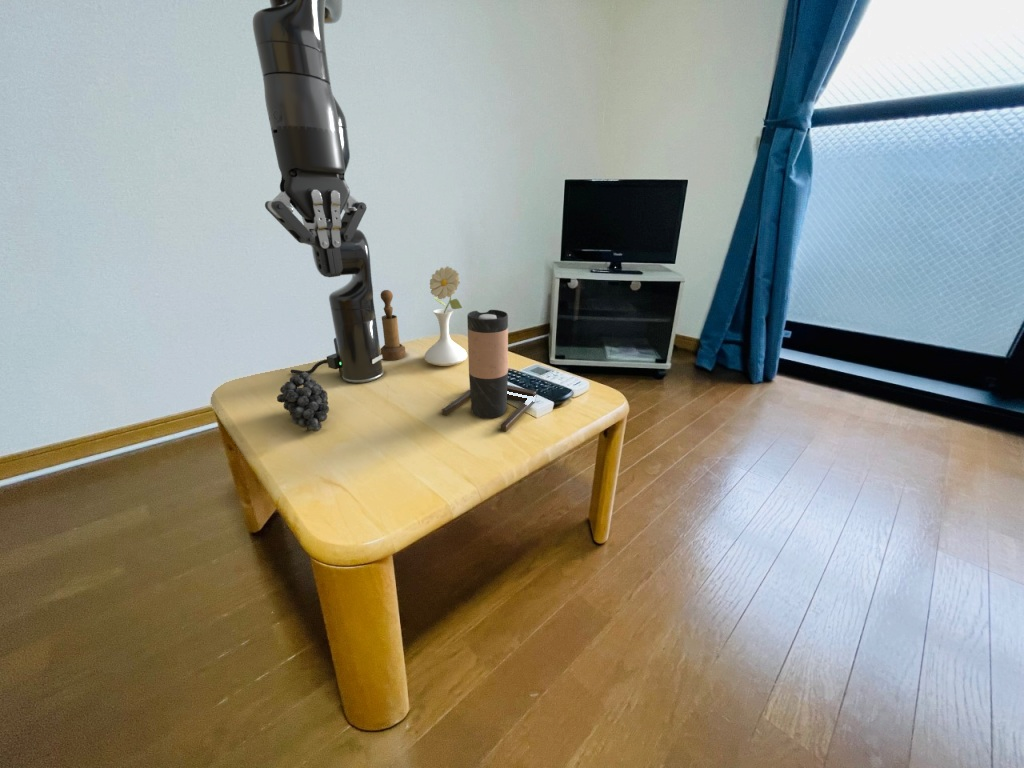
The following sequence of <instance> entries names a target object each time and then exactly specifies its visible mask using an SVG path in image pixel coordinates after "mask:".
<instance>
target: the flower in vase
mask: <svg viewBox="0 0 1024 768" xmlns="http://www.w3.org/2000/svg"><path fill="white" fill-rule="evenodd" d="M460 284H461V282H460V273H459V272H457V270H456V269H453V268H452V267H450V266H449V265H448V266H445V267H443V266H442V267H440V268H439V269H436V270H435V273H433V274H431V278H430V280H429V289H430V294H431V295H432V296H433V299H434V300H435V301H436V302H438V303H439V304H441V305H442V306H444V307H445V308H436V309H433V311H432V312H433V314H434V315H435V316H436V318H437V321H438V325H439V338H438V340H437V341H436V342H435V343H434V344H432V345H431V347H429V348H428V349H427V350H426V351H425V353H424V355H423V358H424V360H425V361H426V362H427V364H430V365H434V366H441V367H443V366H444V367H447V366H449V367H450V366H454V365H458V364H460V363H463V362H465V360H466V359H467V358H468V353H467V351H466V350H465V348H463V347H462V346H461V345H459V344H458V343H456V342H455V341H454V340H452V338H451V336H450V327H449V326H450V320H451V316H452V314H453V313H454V310H458V309H463V306H462V305H461V303H460V301H459V299H458V298H454V299H452V296H453V295H454V294H455V291H457V290H458V288H459V286H460ZM446 298H449V300H448V303H447V304H446V303H445V302H443V301H442V299H443V300H444V299H446ZM449 305H450V308H448V307H449Z"/></svg>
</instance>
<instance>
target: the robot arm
mask: <svg viewBox="0 0 1024 768" xmlns="http://www.w3.org/2000/svg"><path fill="white" fill-rule="evenodd" d="M269 4H270V7H266V8H262V9H260V10H258V11H256V12H255V13H254V14H253V17H252V30H253V36H254V41H255V47H256V51H257V56H258V60H259V61H258V62H259V65H260V71H261V75H262V81H263V88H264V100H265V108H266V112H267V117H268V121H269V128H270V131H271V135H272V141H273V146H274V151H275V155H276V160H277V167H278V169H279V172H280V175H281V178H280V183H279V190H280V192H279V193H278V194H277V195H276V196H275V197H274V198H273V199H272V200H266V201H265V203H264V207H265V210H266V211H267V212H269V214H270V215H271V216H272V217H273V218H274V219H275V220H276V221H277V222H278V224H280V225H281V226H282V227H283V228H284V229H285V230H286V231H287V232H288V233H289V234H290V235H291V236H292V237H293V238H294V240H296V241H297V242H298V243H299V244H304V245H307V246H308V245H309V246H311V247H310V248H311V253H312V259H313V262H314V265H315V268H316V270H317V272H318V273H319V274H320V275H321V276H323V277H325V278H337V277H341V276H350V275H351V278H350V280H349V281H348V282H347V283H346V284H345V285H343V286H341V287H340V288H338V289H336V290H333V291H332V292H330V294H328V302H329V306H330V313H331V318H332V324H333V329H334V335H335V337H334V339H333V345H334V352H335V353H332V354H330V355H327V356H326V359H323V360H320V361H318V362H316V363H315V364H314V365H313V366H312V367H311V368H310V369H309V370H301V369H300V370H299V369H290V373H291V374H294V375H300V373H302V372H307V373H308V374H309V375H311V374H313V373H314V372H315V371H317V369H318V368H319V367H320V366H322V365H325V364H327V367H328V369H332V370H338V372H339V376H340V377H342V380H343V381H345V382H347V383H350V384H351V383H352V384H363V383H368V382H369V383H370V382H373V381H376V380H378V379H380V378H381V377H383V375H384V373H385V372H384V369H383V362H382V361H383V357H382V355H381V346H380V340H379V339H380V338H379V331H378V324H377V317H376V316H377V315H376V310H375V301H374V287H373V280H372V279H373V278H372V268H371V267H372V266H371V254H370V246H369V243H368V240H367V237H366V235H365V233H363V231H361V230H360V229H358V227H359V226H360V223H361V221H362V219H363V217H364V215H365V214H366V211H367V204H366V203H365V202H363V201H358V200H357V199H356V198H355V197H353V196H352V195H351V191H350V188H349V185H348V184H347V182H346V179H345V173H346V172H347V169H348V167H349V163H350V159H351V153H350V152H351V151H350V143H349V133H348V125H347V120H346V116H345V113H344V112H343V109H342V107H341V106H340V103H339V102H338V100H337V99H336V97H335V96H334V94H333V90H332V86H331V77H330V71H329V64H328V57H327V50H326V39H325V24H326V25H331V24H332V25H333V24H336V23H338V22H339V21H340V20H341V18H342V14H343V0H269ZM294 210H295V211H296V212H297V213H298V214H299V215H300V216H301V219H302V221H301V220H299V218H298V217H297V216H296V215H295V214H294V213H293V212H294ZM343 212H344V213H343ZM342 213H343V215H342ZM341 215H342V217H341ZM302 222H303V223H302Z"/></svg>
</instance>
